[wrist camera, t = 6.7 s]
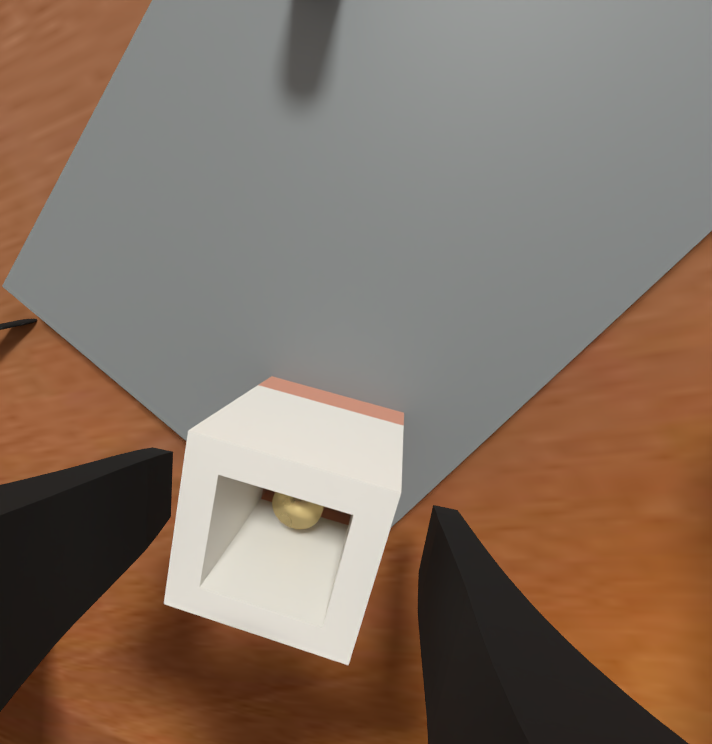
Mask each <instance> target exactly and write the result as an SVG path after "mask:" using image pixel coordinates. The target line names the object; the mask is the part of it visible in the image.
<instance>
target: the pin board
mask: <svg viewBox="0 0 712 744" xmlns="http://www.w3.org/2000/svg"><path fill="white" fill-rule="evenodd" d="M711 231H712V0H152V2H151V4H150V5H149V7H148V9H147V11H146V13H145V15H144V17H143V19H142V21H141V23H140V25H139V26H138V28H137V30H136V32H135V34H134V36H133V38H132V40H131V42H130V44H129V46H128V47H127V49H126V51H125V53H124V55H123V57H122V59H121V61H120V63H119V65H118V66H117V68H116V70H115V72H114V74H113V76H112V78H111V80H110V82H109V84H108V86H107V87H106V89H105V91H104V93H103V95H102V97H101V99H100V101H99V103H98V105H97V107H96V108H95V110H94V112H93V114H92V116H91V118H90V120H89V122H88V124H87V126H86V127H85V129H84V131H83V133H82V135H81V137H80V139H79V141H78V143H77V145H76V147H75V148H74V150H73V152H72V154H71V156H70V158H69V160H68V162H67V164H66V166H65V168H64V169H63V171H62V173H61V175H60V177H59V179H58V181H57V183H56V185H55V187H54V188H53V190H52V192H51V194H50V196H49V198H48V200H47V202H46V204H45V206H44V208H43V209H42V211H41V213H40V215H39V217H38V219H37V221H36V223H35V225H34V227H33V229H32V230H31V232H30V234H29V236H28V238H27V240H26V242H25V244H24V246H23V248H22V249H21V251H20V253H19V255H18V257H17V259H16V261H15V263H14V265H13V267H12V269H11V270H10V272H9V274H8V276H7V278H6V280H5V282H4V284H3V287H4V288H5V289H6V290H7V291H8V292H10V293H11V294H12V295H13V296H14V297H16V298H17V299H18V300H19V301H20V302H22V303H23V304H24V305H25V306H26V307H27V308H29V309H30V310H31V311H32V312H33V313H35V314H36V315H37V316H38V317H39V318H41V319H42V320H43V321H44V322H45V323H47V324H48V325H49V326H50V327H51V328H52V329H54V330H55V331H56V332H57V333H58V334H60V335H61V336H62V337H63V338H64V339H66V340H67V341H68V342H69V343H70V344H71V345H73V346H74V347H75V348H76V349H77V350H79V351H80V352H81V353H82V354H83V355H85V356H86V357H87V358H88V359H89V360H91V361H92V362H93V363H94V364H95V365H96V366H98V367H99V368H100V369H101V370H102V371H104V372H105V373H106V374H107V375H108V376H110V377H111V378H112V379H113V380H114V381H115V382H117V383H118V384H119V385H120V386H121V387H123V388H124V389H125V390H126V391H127V392H129V393H130V394H131V395H132V396H133V397H135V398H136V399H137V400H138V401H139V402H140V403H142V404H143V405H144V406H145V407H146V408H148V409H149V410H150V411H151V412H152V413H154V414H155V415H156V416H157V417H158V418H159V419H161V420H162V421H163V422H164V423H165V424H167V425H168V426H169V427H170V428H171V429H173V430H174V431H175V432H176V433H177V434H179V435H180V436H181V437H182V438H183V439H184V440H186V441H187V435H188V430H190V429H191V428H193V427H194V426H196V425H197V424H199V423H200V422H202V421H204V420H205V419H207V418H208V417H210V416H211V415H213V414H214V413H216V412H217V411H219V410H220V409H222V408H224V407H225V406H227V405H228V404H230V403H231V402H233V401H234V400H236V399H237V398H239V397H240V396H242V395H244V394H245V393H247V392H248V391H250V390H251V389H253V388H254V387H256V386H257V385H259V384H260V383H262V382H264V381H265V380H267V379H268V378H270V377H271V376H273V377H276V378H280V379H284V380H287V381H291V382H294V383H298V384H302V385H305V386H309V387H313V388H316V389H320V390H323V391H327V392H331V393H334V394H338V395H342V396H345V397H349V398H352V399H356V400H360V401H363V402H367V403H371V404H374V405H378V406H381V407H385V408H389V409H392V410H396V411H399V412H403V413H404V430H403V458H402V487H401V495H400V499H399V502H398V505H397V508H396V512H395V515H394V518H393V521H392V525H391V527H392V526H393V525H394V524H395V523H397V522H398V521H399V520H400V519H401V518H402V517H403V516H404V515H405V514H406V513H407V512H408V511H409V510H411V509H412V508H413V507H414V506H415V505H416V504H417V503H418V502H419V501H420V500H421V499H422V498H424V497H425V496H426V495H427V494H428V493H429V492H430V491H431V490H432V489H433V488H434V487H435V486H436V485H438V484H439V483H440V482H441V481H442V480H443V479H444V478H445V477H446V476H447V475H448V474H449V473H450V472H452V471H453V470H454V469H455V468H456V467H457V466H458V465H459V464H460V463H461V462H462V461H463V460H465V459H466V458H467V457H468V456H469V455H470V454H471V453H472V452H473V451H474V450H475V449H476V448H477V447H479V446H480V445H481V444H482V443H483V442H484V441H485V440H486V439H487V438H488V437H489V436H490V435H492V434H493V433H494V432H495V431H496V430H497V429H498V428H499V427H500V426H501V425H502V424H503V423H504V422H506V421H507V420H508V419H509V418H510V417H511V416H512V415H513V414H514V413H515V412H516V411H517V410H519V409H520V408H521V407H522V406H523V405H524V404H525V403H526V402H527V401H528V400H529V399H530V398H531V397H533V396H534V395H535V394H536V393H537V392H538V391H539V390H540V389H541V388H542V387H543V386H544V385H546V384H547V383H548V382H549V381H550V380H551V379H552V378H553V377H554V376H555V375H556V374H557V373H558V372H560V371H561V370H562V369H563V368H564V367H565V366H566V365H567V364H568V363H569V362H570V361H571V360H572V359H574V358H575V357H576V356H577V355H578V354H579V353H580V352H581V351H582V350H583V349H584V348H585V347H587V346H588V345H589V344H590V343H591V342H592V341H593V340H594V339H595V338H596V337H597V336H598V335H599V334H601V333H602V332H603V331H604V330H605V329H606V328H607V327H608V326H609V325H610V324H611V323H612V322H614V321H615V320H616V319H617V318H618V317H619V316H620V315H621V314H622V313H623V312H624V311H625V310H626V309H628V308H629V307H630V306H631V305H632V304H633V303H634V302H635V301H636V300H637V299H638V298H639V297H641V296H642V295H643V294H644V293H645V292H646V291H647V290H648V289H649V288H650V287H651V286H652V285H653V284H655V283H656V282H657V281H658V280H659V279H660V278H661V277H662V276H663V275H664V274H665V273H666V272H668V271H669V270H670V269H671V268H672V267H673V266H674V265H675V264H676V263H677V262H678V261H679V260H680V259H682V258H683V257H684V256H685V255H686V254H687V253H688V252H689V251H690V250H691V249H692V248H693V247H694V246H696V245H697V244H698V243H699V242H700V241H701V240H702V239H703V238H704V237H705V236H706V235H707V234H709V233H710V232H711Z"/></svg>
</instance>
